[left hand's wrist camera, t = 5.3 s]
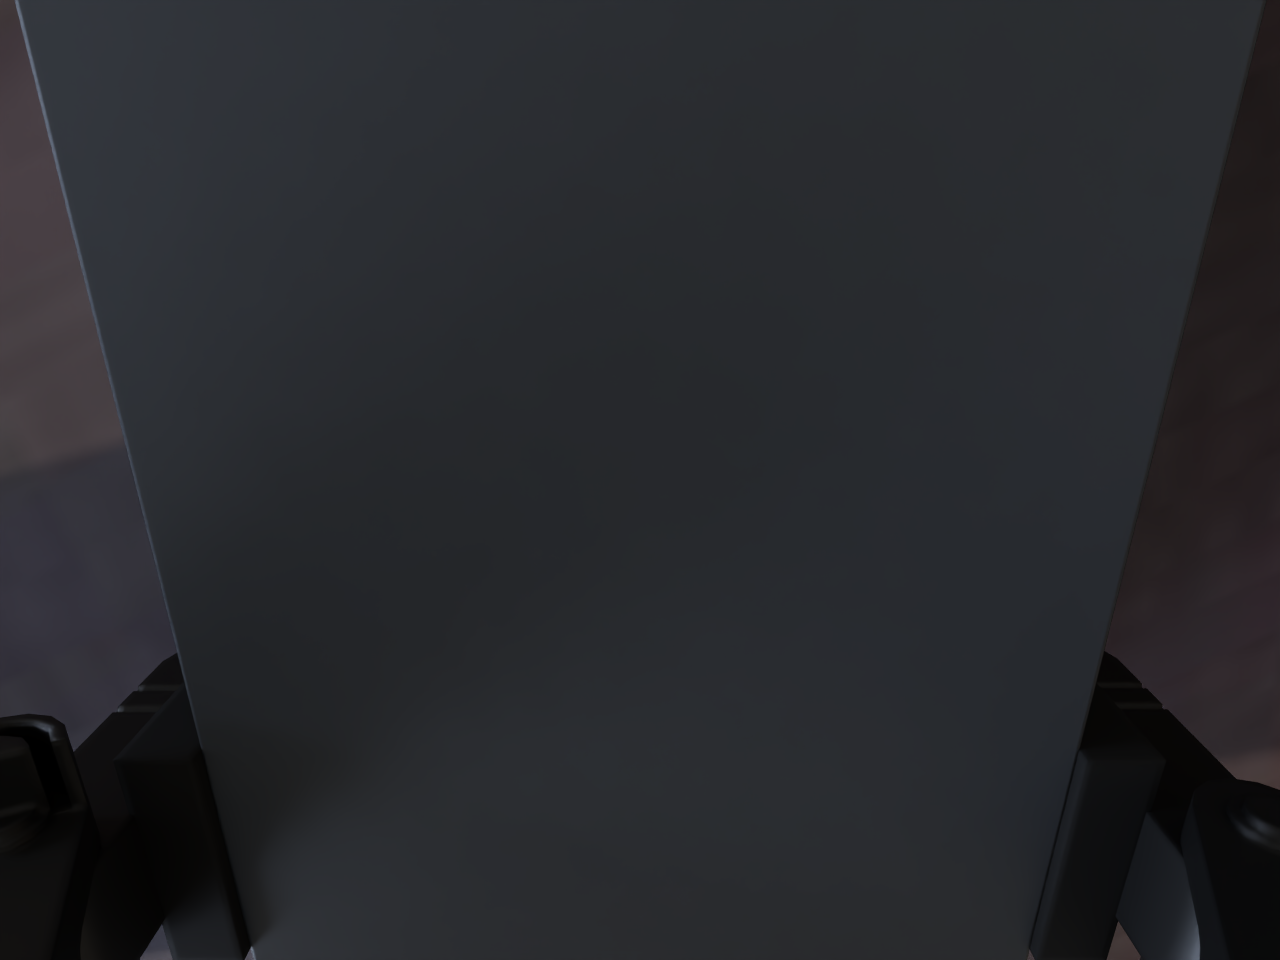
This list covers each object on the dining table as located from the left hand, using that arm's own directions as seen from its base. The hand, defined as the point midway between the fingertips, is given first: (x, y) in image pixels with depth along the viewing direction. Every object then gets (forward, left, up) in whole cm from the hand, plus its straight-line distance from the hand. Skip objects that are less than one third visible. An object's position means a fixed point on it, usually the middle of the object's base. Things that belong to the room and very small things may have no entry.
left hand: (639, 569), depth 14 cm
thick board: (+28, +21, 0) cm, 35 cm away
